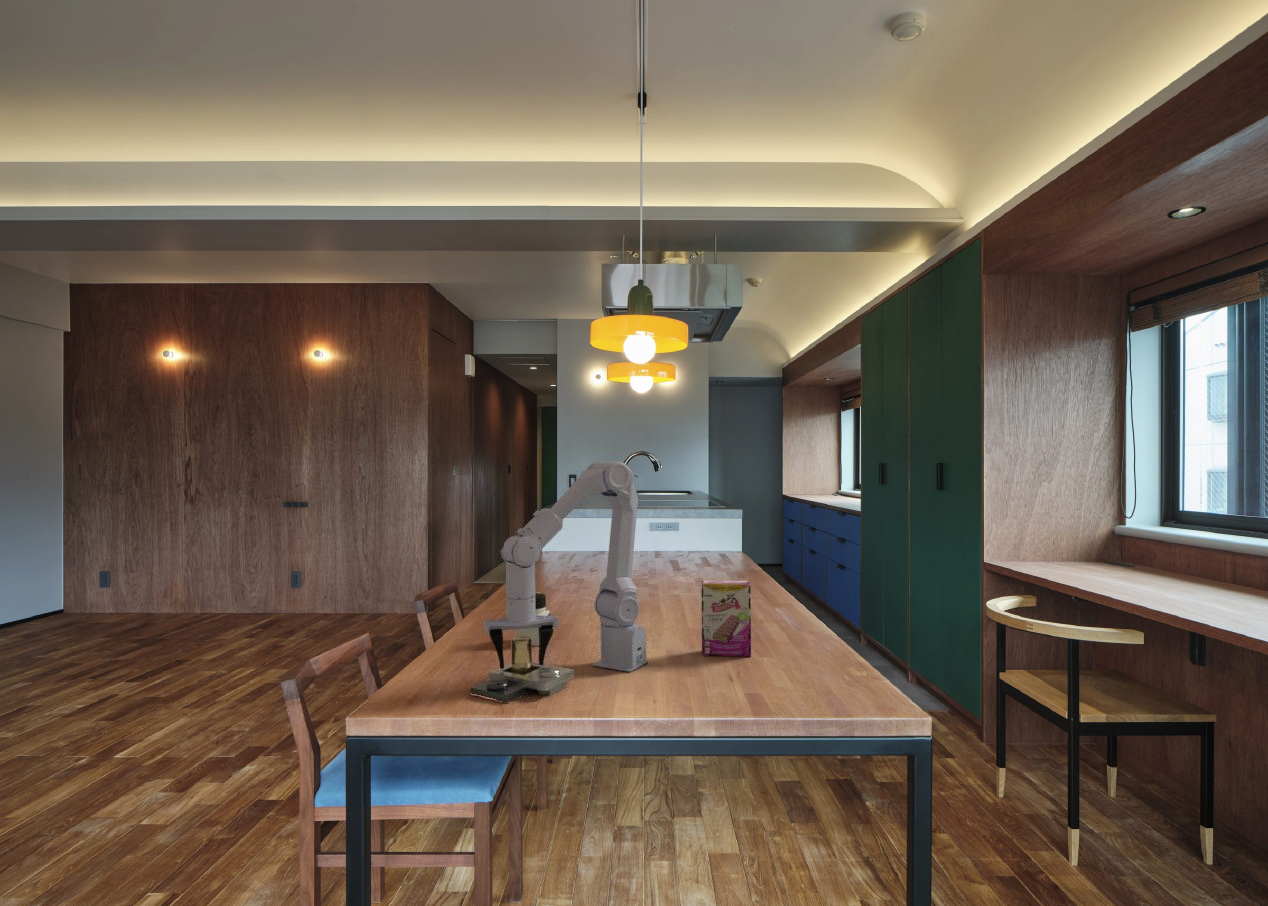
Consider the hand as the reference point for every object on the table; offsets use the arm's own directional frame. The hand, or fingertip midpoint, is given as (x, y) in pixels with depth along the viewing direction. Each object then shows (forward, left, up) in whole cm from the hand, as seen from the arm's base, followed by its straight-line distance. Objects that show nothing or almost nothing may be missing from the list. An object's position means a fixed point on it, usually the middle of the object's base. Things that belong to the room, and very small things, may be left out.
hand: (521, 665), depth 127 cm
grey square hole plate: (-3, 0, -4) cm, 4 cm away
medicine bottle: (+18, -26, -4) cm, 32 cm away
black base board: (0, +2, -4) cm, 4 cm away
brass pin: (0, 0, -4) cm, 4 cm away
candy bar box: (-28, -38, -4) cm, 47 cm away
